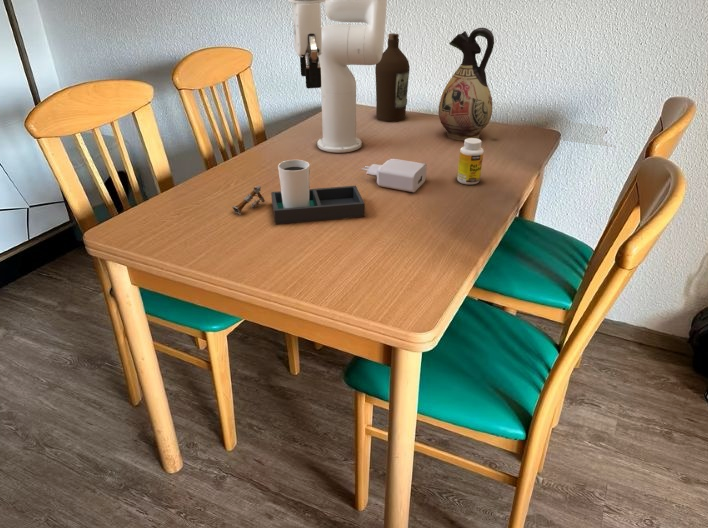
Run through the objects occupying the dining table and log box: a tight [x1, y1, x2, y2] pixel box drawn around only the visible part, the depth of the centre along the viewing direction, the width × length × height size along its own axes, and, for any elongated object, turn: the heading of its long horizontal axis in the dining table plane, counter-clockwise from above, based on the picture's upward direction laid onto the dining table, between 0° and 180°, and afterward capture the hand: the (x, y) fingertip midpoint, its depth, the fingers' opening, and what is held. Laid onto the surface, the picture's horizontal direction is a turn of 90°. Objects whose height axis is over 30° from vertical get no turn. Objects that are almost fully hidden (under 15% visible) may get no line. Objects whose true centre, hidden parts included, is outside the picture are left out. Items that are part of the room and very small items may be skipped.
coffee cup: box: [277, 159, 310, 208], centre depth 124 cm, size 7×7×10 cm
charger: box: [361, 158, 428, 193], centre depth 140 cm, size 5×9×15 cm
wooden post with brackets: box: [231, 185, 266, 215], centre depth 128 cm, size 2×8×4 cm, turn 136°
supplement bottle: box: [456, 138, 485, 186], centre depth 139 cm, size 6×6×10 cm
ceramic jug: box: [438, 27, 495, 141], centre depth 162 cm, size 17×15×30 cm
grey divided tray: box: [270, 185, 366, 225], centre depth 127 cm, size 10×19×3 cm, turn 100°
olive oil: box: [374, 32, 410, 123], centre depth 180 cm, size 11×11×25 cm
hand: (310, 81), depth 124 cm, fingers open, 9 cm apart
